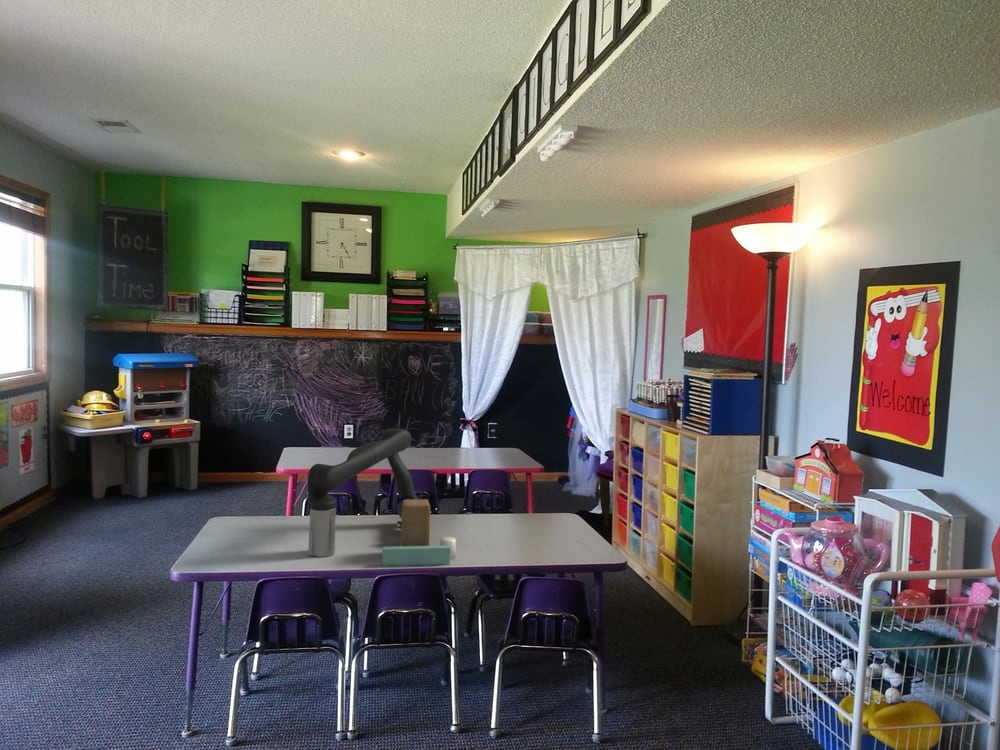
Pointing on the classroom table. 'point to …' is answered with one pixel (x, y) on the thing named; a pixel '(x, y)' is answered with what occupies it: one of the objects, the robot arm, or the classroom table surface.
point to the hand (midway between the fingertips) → (414, 530)
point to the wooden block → (415, 522)
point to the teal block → (416, 555)
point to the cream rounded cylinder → (451, 542)
